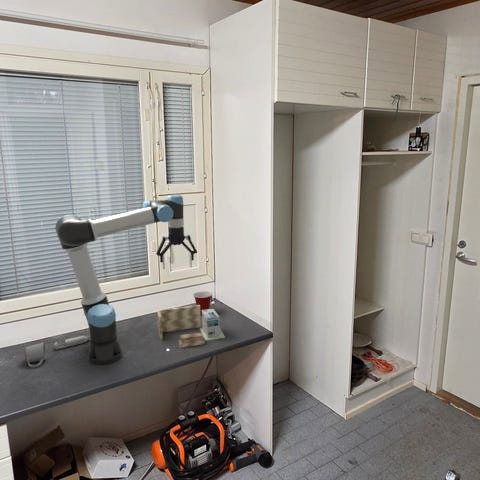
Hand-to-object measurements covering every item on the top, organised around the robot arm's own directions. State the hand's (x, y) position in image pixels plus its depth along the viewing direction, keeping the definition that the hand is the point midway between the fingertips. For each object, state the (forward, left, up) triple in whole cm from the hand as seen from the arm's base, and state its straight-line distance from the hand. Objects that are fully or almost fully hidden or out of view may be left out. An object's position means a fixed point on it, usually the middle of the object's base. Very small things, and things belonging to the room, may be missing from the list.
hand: (177, 267), depth 212 cm
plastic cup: (+16, +15, -34) cm, 40 cm away
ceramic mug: (-67, -14, -34) cm, 76 cm away
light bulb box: (+14, -11, -33) cm, 38 cm away
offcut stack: (+3, -19, -33) cm, 38 cm away
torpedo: (-52, -3, -34) cm, 62 cm away
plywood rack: (0, -6, -33) cm, 34 cm away
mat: (+15, -11, -33) cm, 38 cm away
